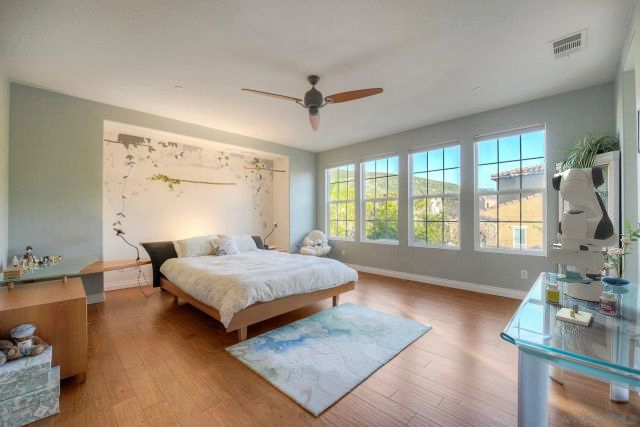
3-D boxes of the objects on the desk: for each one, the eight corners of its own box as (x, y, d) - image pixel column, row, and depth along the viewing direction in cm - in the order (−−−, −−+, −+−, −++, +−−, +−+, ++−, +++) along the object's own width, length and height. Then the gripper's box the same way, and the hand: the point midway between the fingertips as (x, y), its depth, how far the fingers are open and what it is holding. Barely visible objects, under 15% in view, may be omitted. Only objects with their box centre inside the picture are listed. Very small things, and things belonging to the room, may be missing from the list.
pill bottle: (599, 313, 124) (600, 292, 124) (598, 310, 128) (599, 290, 128) (617, 316, 120) (617, 295, 120) (615, 313, 124) (615, 293, 124)
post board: (562, 310, 127) (562, 300, 127) (592, 317, 119) (592, 305, 119) (555, 318, 117) (555, 307, 117) (587, 326, 109) (587, 314, 109)
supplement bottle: (562, 305, 135) (562, 285, 135) (549, 304, 136) (550, 285, 136) (555, 301, 141) (555, 283, 141) (543, 300, 142) (543, 282, 142)
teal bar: (568, 282, 118) (568, 273, 118) (556, 280, 122) (556, 271, 122) (592, 281, 120) (592, 272, 120) (579, 279, 125) (579, 270, 125)
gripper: (545, 243, 131) (545, 271, 131) (595, 248, 111) (596, 281, 111) (555, 243, 133) (555, 271, 132) (607, 248, 113) (607, 281, 112)
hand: (574, 276), depth 121 cm, fingers closed on teal bar, 5 cm apart
